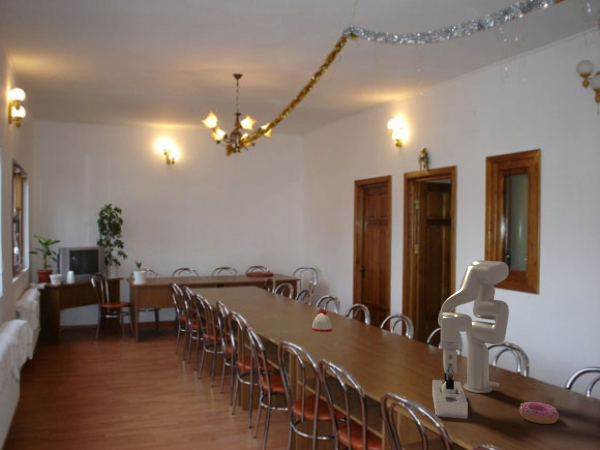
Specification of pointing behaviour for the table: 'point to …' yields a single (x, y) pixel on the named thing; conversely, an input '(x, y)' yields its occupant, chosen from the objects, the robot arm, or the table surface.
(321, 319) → the cream hat
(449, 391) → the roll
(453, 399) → the white block holder
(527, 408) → the donut
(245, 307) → the table surface
